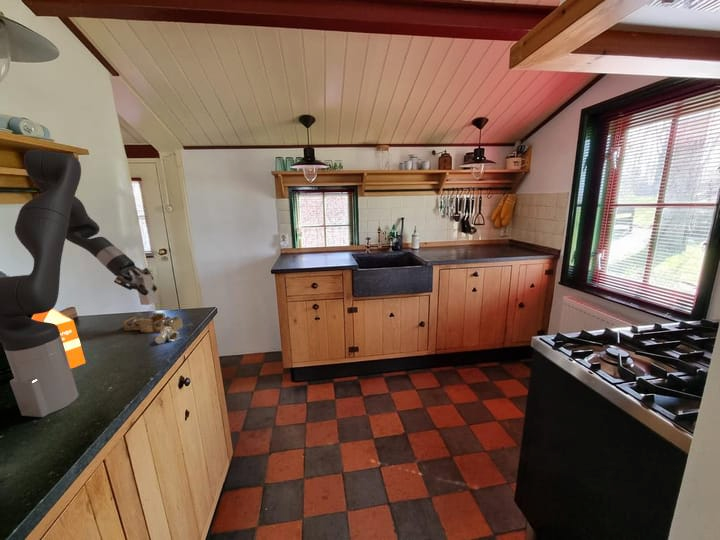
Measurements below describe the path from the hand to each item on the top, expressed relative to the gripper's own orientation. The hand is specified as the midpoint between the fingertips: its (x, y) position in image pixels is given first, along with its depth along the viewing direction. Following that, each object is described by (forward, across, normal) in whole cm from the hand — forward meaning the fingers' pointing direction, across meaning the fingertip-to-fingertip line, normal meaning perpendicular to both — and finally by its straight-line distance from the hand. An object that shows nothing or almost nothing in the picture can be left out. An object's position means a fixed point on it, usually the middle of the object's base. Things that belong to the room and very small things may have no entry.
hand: (151, 292), depth 114 cm
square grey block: (+2, 0, +5) cm, 5 cm away
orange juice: (+4, -27, +17) cm, 32 cm away
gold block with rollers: (+9, 0, +12) cm, 15 cm away
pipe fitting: (+18, -8, +4) cm, 20 cm away
